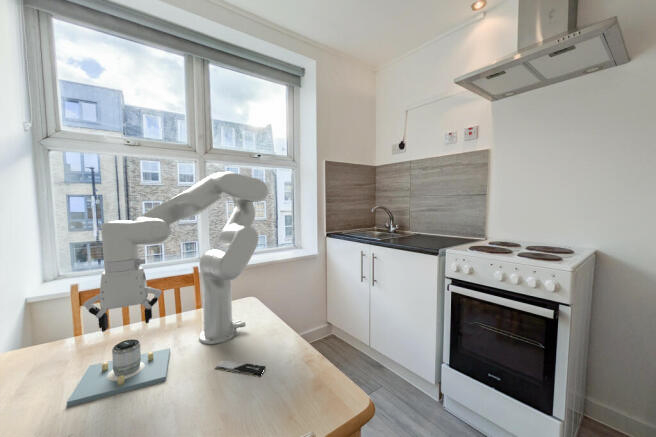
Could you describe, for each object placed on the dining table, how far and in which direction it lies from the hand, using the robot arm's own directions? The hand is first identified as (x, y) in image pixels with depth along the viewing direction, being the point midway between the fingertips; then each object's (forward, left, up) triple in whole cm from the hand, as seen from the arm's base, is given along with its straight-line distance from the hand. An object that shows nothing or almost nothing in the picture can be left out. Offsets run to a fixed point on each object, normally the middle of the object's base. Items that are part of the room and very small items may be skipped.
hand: (127, 325), depth 74 cm
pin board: (+1, 0, -14) cm, 14 cm away
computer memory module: (-28, +12, -15) cm, 34 cm away
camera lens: (0, 0, -13) cm, 13 cm away
